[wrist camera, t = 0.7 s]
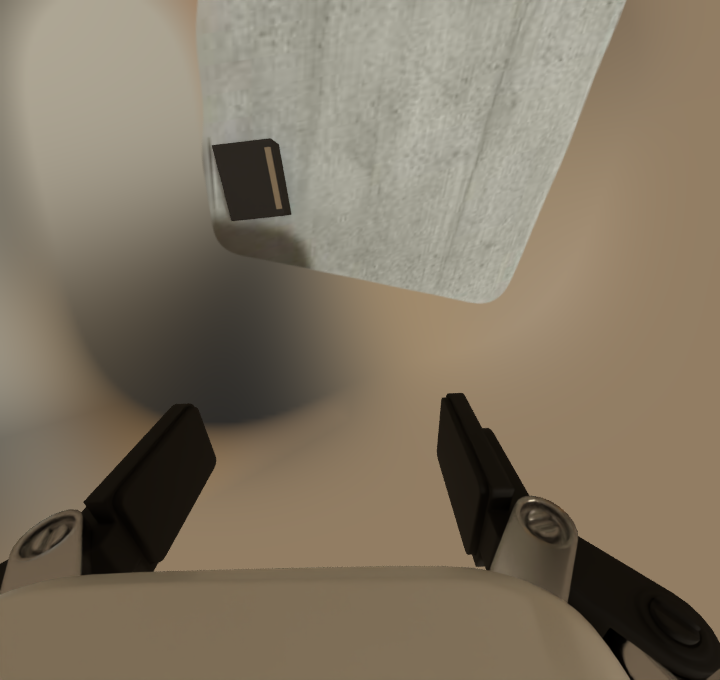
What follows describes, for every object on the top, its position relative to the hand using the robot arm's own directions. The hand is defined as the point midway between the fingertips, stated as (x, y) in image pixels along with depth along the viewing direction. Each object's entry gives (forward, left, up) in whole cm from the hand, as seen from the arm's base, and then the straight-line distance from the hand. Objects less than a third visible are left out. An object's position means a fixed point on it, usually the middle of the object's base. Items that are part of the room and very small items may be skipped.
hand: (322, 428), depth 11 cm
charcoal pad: (-11, -9, -28) cm, 32 cm away
